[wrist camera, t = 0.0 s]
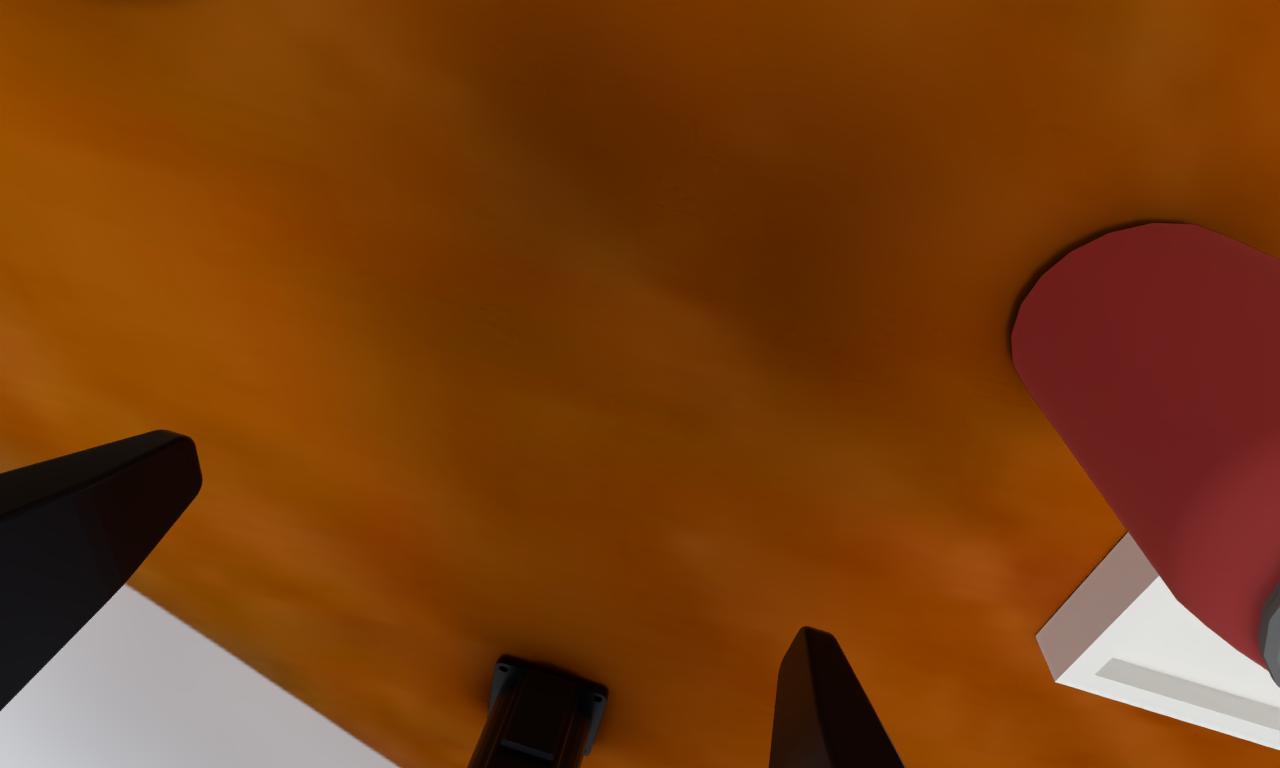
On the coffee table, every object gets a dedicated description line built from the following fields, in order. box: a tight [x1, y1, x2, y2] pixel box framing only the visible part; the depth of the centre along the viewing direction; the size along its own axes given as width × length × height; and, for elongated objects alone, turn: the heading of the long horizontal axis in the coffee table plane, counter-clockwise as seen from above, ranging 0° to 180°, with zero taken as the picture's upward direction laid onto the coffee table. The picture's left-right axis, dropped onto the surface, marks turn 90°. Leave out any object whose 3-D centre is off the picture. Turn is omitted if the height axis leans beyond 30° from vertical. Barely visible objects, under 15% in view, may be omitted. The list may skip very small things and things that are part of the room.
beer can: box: [1011, 223, 1280, 688], centre depth 14 cm, size 7×7×12 cm
